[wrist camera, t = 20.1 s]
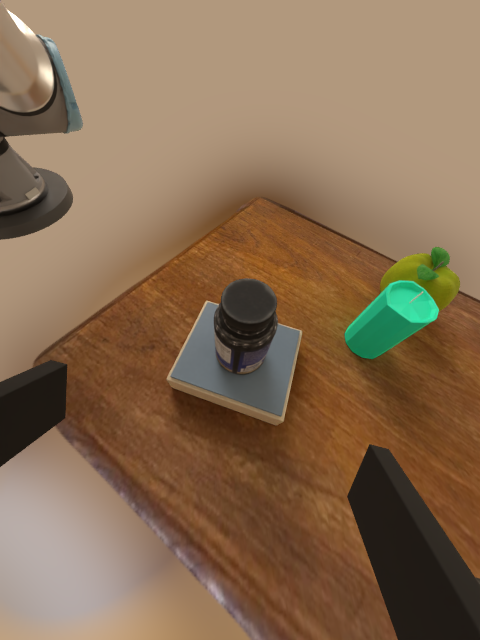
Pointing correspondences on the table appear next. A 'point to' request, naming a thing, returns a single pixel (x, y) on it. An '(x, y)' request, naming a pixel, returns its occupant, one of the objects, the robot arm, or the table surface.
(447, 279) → the fruit
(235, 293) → the pill bottle
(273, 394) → the blue topped tan slab
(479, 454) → the table surface
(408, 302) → the candle
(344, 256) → the table surface
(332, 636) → the table surface
